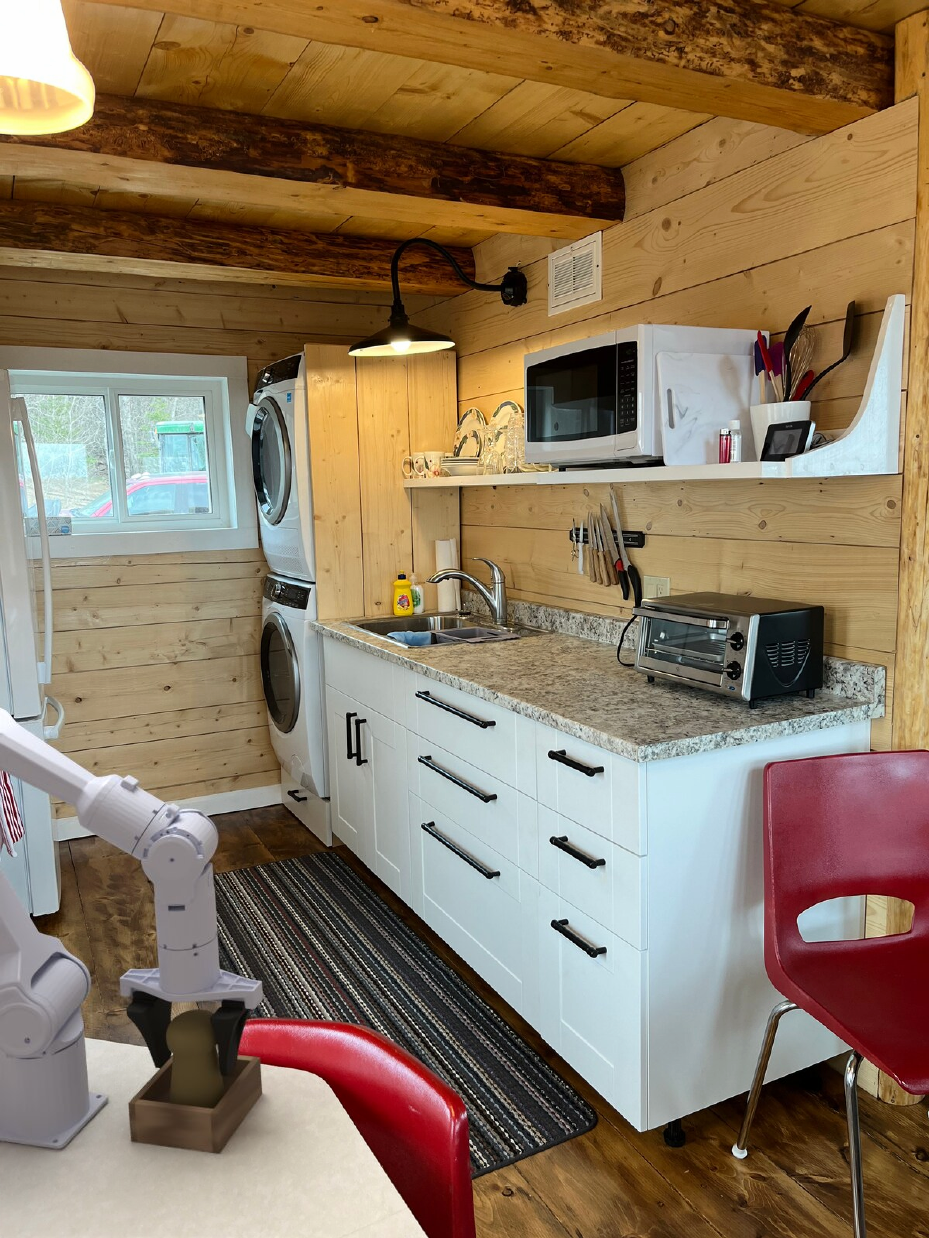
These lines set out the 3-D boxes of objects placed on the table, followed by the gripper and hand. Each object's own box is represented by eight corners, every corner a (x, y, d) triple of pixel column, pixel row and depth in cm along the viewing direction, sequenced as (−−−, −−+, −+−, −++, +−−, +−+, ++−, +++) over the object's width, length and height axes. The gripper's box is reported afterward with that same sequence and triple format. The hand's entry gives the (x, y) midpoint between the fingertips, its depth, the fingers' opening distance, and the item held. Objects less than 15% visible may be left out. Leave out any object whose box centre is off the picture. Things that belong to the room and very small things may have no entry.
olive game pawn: (218, 1140, 91) (212, 1033, 90) (158, 1139, 91) (150, 1033, 90) (237, 1101, 97) (231, 1000, 96) (180, 1100, 97) (174, 1000, 96)
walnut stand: (131, 1141, 91) (128, 1102, 91) (180, 1083, 100) (178, 1048, 100) (219, 1153, 89) (217, 1114, 89) (262, 1093, 98) (260, 1057, 98)
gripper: (272, 924, 95) (279, 1050, 96) (143, 914, 98) (152, 1036, 100) (241, 957, 88) (248, 1092, 89) (103, 945, 91) (113, 1076, 93)
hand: (195, 1066), depth 94 cm, fingers open, 7 cm apart
